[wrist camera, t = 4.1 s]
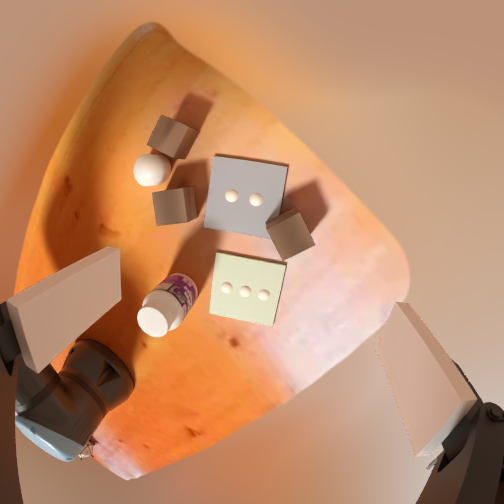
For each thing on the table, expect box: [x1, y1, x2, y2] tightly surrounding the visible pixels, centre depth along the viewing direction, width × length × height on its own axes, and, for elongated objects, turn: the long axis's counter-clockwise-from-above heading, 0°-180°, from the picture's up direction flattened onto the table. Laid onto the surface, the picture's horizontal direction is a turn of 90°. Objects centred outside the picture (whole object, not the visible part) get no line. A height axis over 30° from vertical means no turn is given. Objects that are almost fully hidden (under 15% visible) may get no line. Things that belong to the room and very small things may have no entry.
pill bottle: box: [137, 273, 198, 337], centre depth 33 cm, size 5×5×10 cm
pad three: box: [209, 252, 286, 326], centre depth 36 cm, size 9×9×1 cm
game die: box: [78, 441, 95, 460], centre depth 55 cm, size 9×8×10 cm
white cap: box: [134, 154, 171, 186], centre depth 32 cm, size 4×4×3 cm
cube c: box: [265, 208, 315, 261], centre depth 31 cm, size 4×4×4 cm
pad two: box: [204, 156, 287, 240], centre depth 33 cm, size 9×9×1 cm
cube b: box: [147, 115, 200, 159], centre depth 30 cm, size 4×4×4 cm
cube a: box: [152, 186, 198, 226], centre depth 33 cm, size 4×4×4 cm
